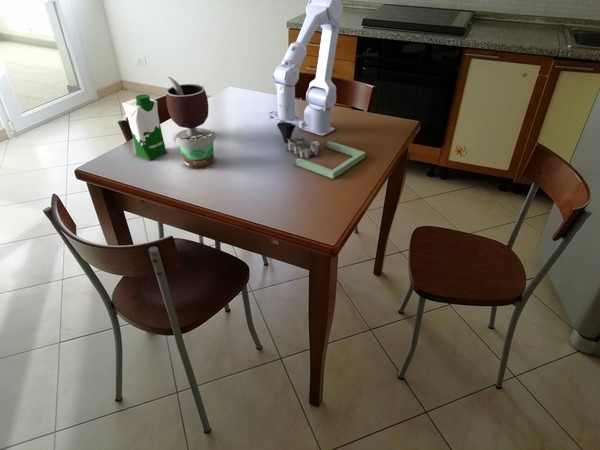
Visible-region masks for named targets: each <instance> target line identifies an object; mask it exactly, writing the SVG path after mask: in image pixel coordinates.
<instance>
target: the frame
mask: <svg viewBox="0 0 600 450" xmlns="http://www.w3.org/2000/svg"><path fill="white" fill-rule="evenodd" d="M326 148H327V149H330V150H333V151H336V152H339V153H342V154H345V155H347V156H348V155H349V156H351V157H350V158H349V159H347V160H345V161H343V162H342V163H340V164H339V165H338V166H337V165H336V166H335V167H334V168H333V169H331V168H328V167H325V166H323V165H320V164H317V163H314V162H312V161H309V160H306V159H305V158H301V157H298V158H296V160H295V165H296V166H297V167H300V168H303V169H306V170H308V171H310V172H313V173H316V174H318V175H322V176H324V177H328V178H329V179H333V180H334V179H335V178H337V177H338V176H340V175H342V174H343V173H344V172H346V171H347V170H349V169H351V168H352V167H354V166H355V165H356V164H358V163H359V162H360V161H362V160H364V159H365V158H366V152H365V151H363V150H359V149H357V148H353V147H350V146H347V145H344V144H340V143H337V142H334V141H333V140H332V141H331V140H327V142H326Z"/></svg>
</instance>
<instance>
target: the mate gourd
mask: <svg viewBox="0 0 600 450" xmlns="http://www.w3.org/2000/svg"><path fill="white" fill-rule="evenodd" d="M167 79H168V80H169V81H170V82H171V85H172V86H171V87H168V88H167V89H166V91H165V93H166V95H165V96H166V97H165V98H166V107H167V111H168V113H169V116H170V118H171V121H172V122H173V123H175V125H177V126H178V127H180V128H185V129H184V130H180V131H179V132H178V133H177V134H176V135H175V140H176V139H177V137H178V138H180V139H182V138H186V137H190V136H192V135H197V134H207V133H211V132H210V131H209V130H208V129H206V128H199V126H202V125H203V124H205V122H206V121H207V119H208V117H209V100H208V96H207V92H206V89H205V86H203V85H201V84H196V83H183V84H180V83H178V81H176V80H175V79H174V78H172V77H171V76H168V77H167Z"/></svg>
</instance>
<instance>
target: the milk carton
mask: <svg viewBox="0 0 600 450" xmlns="http://www.w3.org/2000/svg"><path fill="white" fill-rule="evenodd" d="M121 104H122V107H123V109H124V112H125V114H126V116H127V120H128V124H129V127H130V131H131V135H132V139H133V144H134V148H135V154H136V156H138V157H140V158H143V159H145V160H147V161H152V160H154V159H156V158H159V157H161V156H163V155H165V154H167V149H166V144H165V140H164V136H163V132H162V127H161V122H160V118H159V117H160V116H159V112H158V111H159V110H158V100H156V99H152V98H150V95H149V94H139V95H136V96H135V98H134V99H131V100H128V101H124V102H122V103H121Z"/></svg>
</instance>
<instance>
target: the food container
mask: <svg viewBox="0 0 600 450" xmlns="http://www.w3.org/2000/svg"><path fill="white" fill-rule="evenodd" d="M215 140H216V135H215V132H214V131H213V129H211V132H210V133H207V134H197V135H192V136H190V137H186V138H182V139H180V138H178V137H177V139H176V138H175V143H176V145H177V146H179V150H180V153H181V157H182V160H183V163H184V166H185V167H187V168H189V169H192V170H201V169H207V168H208V167H210V166H212V165H213V164H214V162H215V153H214V149H215V148H214V142H215Z"/></svg>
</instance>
